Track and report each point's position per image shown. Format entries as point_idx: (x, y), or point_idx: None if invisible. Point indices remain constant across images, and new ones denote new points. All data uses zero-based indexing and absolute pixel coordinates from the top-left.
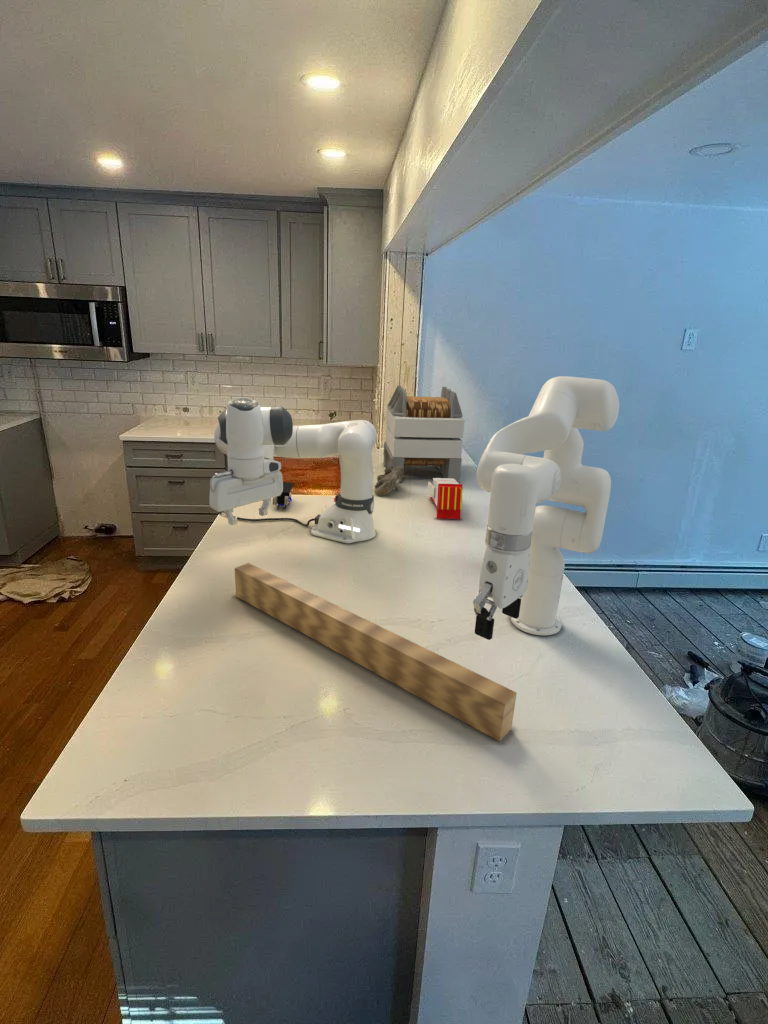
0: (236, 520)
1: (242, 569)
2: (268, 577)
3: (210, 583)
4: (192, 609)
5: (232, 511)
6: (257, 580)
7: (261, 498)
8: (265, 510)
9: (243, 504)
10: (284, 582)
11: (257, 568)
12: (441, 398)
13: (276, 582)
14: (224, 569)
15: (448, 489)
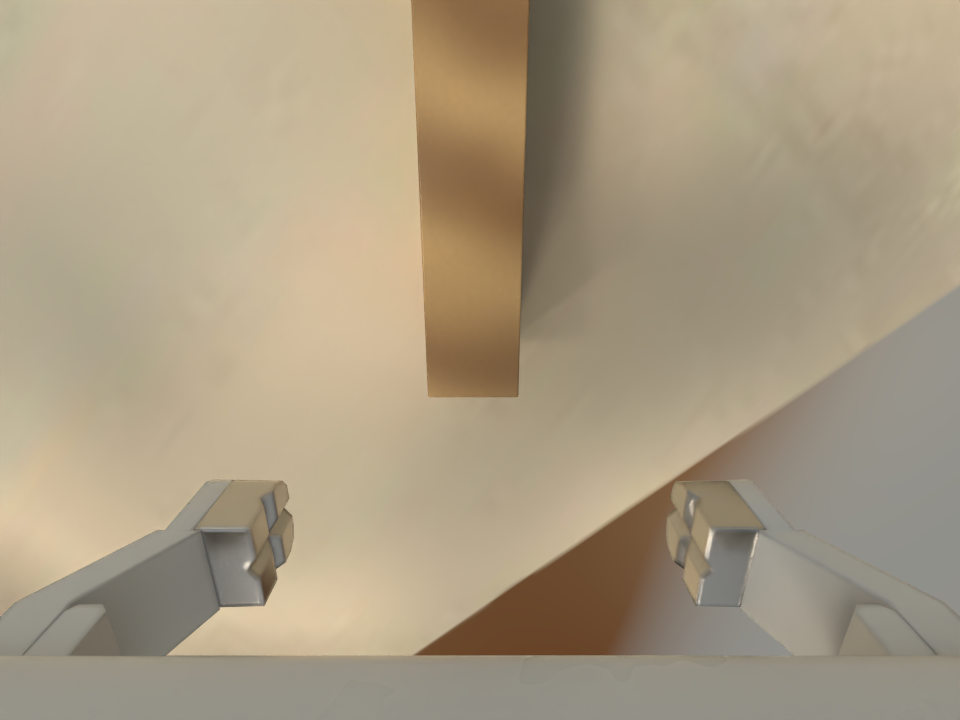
0: (709, 503)
1: (501, 355)
2: (463, 171)
3: (509, 484)
4: (680, 372)
5: (876, 619)
6: (523, 197)
7: (192, 699)
8: (214, 516)
9: (730, 673)
10: (435, 35)
11: (435, 311)
12: None
13: (471, 76)
14: (405, 536)
15: None
